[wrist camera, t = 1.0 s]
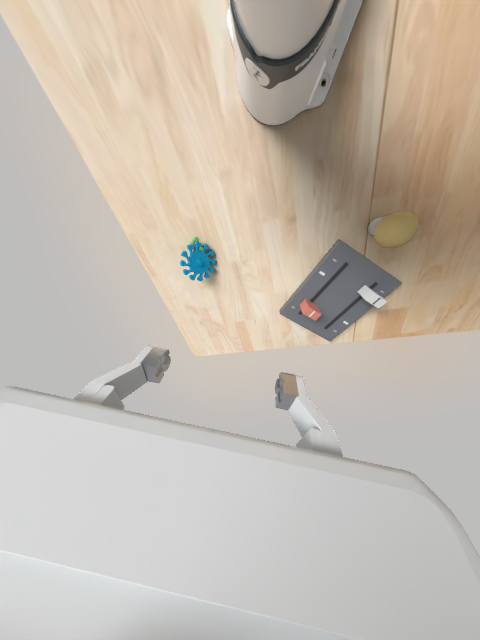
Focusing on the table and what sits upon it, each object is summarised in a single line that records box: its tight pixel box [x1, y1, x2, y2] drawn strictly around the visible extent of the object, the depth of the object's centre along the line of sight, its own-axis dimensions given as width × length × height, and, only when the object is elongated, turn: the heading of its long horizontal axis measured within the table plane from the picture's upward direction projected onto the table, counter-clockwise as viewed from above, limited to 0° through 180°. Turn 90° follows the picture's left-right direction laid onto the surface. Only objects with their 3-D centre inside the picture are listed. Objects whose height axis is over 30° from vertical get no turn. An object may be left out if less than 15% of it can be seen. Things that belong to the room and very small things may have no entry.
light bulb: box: [368, 211, 419, 248], centre depth 35 cm, size 6×6×10 cm
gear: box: [180, 237, 216, 281], centre depth 46 cm, size 11×6×10 cm
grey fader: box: [358, 285, 388, 309], centre depth 43 cm, size 2×4×5 cm, turn 62°
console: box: [280, 239, 402, 341], centre depth 49 cm, size 24×20×2 cm
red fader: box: [300, 299, 322, 321], centre depth 48 cm, size 2×4×5 cm, turn 62°
